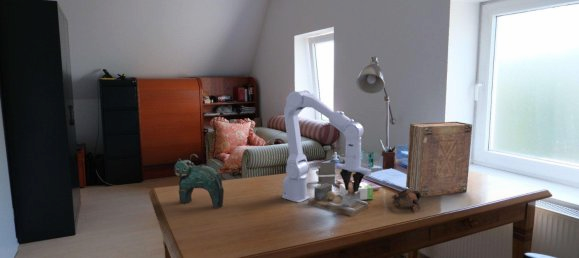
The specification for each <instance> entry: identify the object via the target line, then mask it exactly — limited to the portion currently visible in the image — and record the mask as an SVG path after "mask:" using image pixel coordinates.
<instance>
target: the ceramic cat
mask: <svg viewBox="0 0 579 258" xmlns="http://www.w3.org/2000/svg"><path fill="white" fill-rule="evenodd" d="M192 156H195V157H196V158H197V159H199V157H198V155H197V154H195V153H193V154H190V158H189V159H183V160H182V159H181V158H177V161H176V163H175V164H174V167H173V169H174V175H176V177H178V178H180V179H179V181H178V184H179V185H178V186H179V187H178V188H179V189H178V196H179V204H183V203H184V205H186V203H187V204H190V201H191V202H192V195H193V191H194V189H203V190H206V191H207V192H208V194H209V196H210V200H211V203H212V208H214V209H220V208H221V207H223V206H224V205H223V204H224V194H225V192H224V191H225V190H224V186H223V180H222V177H221V175H220V174H219V171H218V170H217V168H216V167H215V166H214V165H211V164H207V163H202V164H198V165H195V164H194V163H193V162H192Z"/></svg>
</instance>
